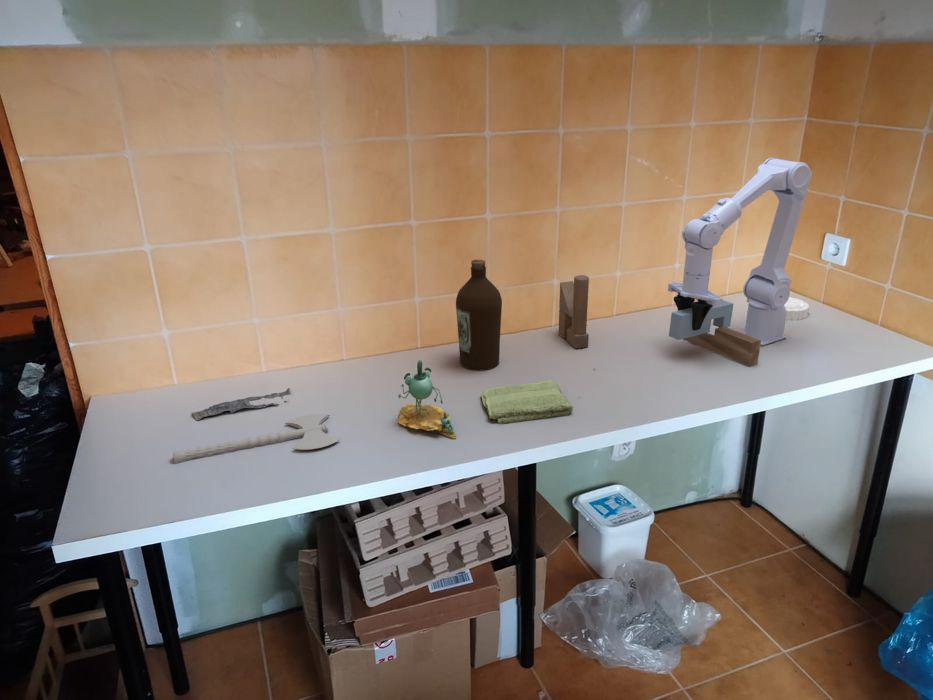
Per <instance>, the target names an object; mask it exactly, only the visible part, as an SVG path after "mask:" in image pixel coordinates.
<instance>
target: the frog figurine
mask: <svg viewBox="0 0 933 700" xmlns="http://www.w3.org/2000/svg"><path fill="white" fill-rule="evenodd" d="M416 364H417V366H416V367H417V371H416V372H417V373H416V374H414V375H413V377H412V378H411V373H410V372H407V373H406V374H405V375H404V377H403V380H404V383H405V384H404V383H402V384H401V388H402V393H403V395H405V394H406V396H402V395H401V393H399V394H398V396H397V397H398V399H401V398H402V399H405V400H406V399H407V398H408V396H409V394H410V396H412V397H413V398H414V399H415V404H413V403H411V404H410V403H409V404H406V405H403V406H402V407H401V409H399V410H398V412H399V413H398V416H399V417H398V418H397V419H398V423H399V425H402V426H403V427H408V428H410V429H412V430H424V431H427V432H428V431H431V432H434V431H438V434H439V435H444V436H445V437H447V438H451V439H456V438H457V434H456V433H455V429H454V427H453V425H452V423H451V421H452V419H451V418H450V416H449V414H448V413H447V411H444V410H443V409H442V408H441V407H439V406H435V405H433V404H429V405H428V404H427V405H426V404H422V401H423V400H426V399H427V398H429V397H430V396H431V395H432V393H433V390H434V392H435V393H436V396H435V398H433V401H434V402H435V403H437V398H438V396H439V397H440V403H441V404H443V403H444V402H443V399H442V395H441V391H440V389H438V388H436V387H435V386H434V385H433V382H432V380H431V375H430V373H431V372H432V369H431V368H429V367H425V368H424V371H423V360H422V359H419V360H417V363H416ZM428 371H429V372H428ZM405 385H406V386H408V390H407V391H405V390H404V386H405ZM443 426H444V427H445V428H443Z"/></svg>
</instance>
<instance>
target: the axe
mask: <svg viewBox="0 0 933 700" xmlns="http://www.w3.org/2000/svg"><path fill="white" fill-rule="evenodd" d="M330 416H331V414H327V413H313V414H305V415H302V416H297V417H295V418H292V419H290V420H289V421H286V422H285V423H284V424H285V425H288V426H291V427H294V428H296V429H293V430H287V431H278V432H277V433H271V432H270V433H268V434H267V435H258V436H256V437H254V436H252V437H248V438H245V439H241V440H235V441H228V442H225V443H218V444H214V445H207V446H204V447H197V448H194V449H193V448H192V449H186V450H183V449H177V450H173V451H172V457H173V461H174V464H178V463H182V462H185V461H191V460H193V459H201V458H204V457H212V456H214V455H221V454H225V453H232V452H235V451H238V450H244V449H254V448H256V447H264V446H267V445H268V444H269V445H273V444H276V443H283V442H286V441H289V440H290V441H291V440H296V439H301V438H302V439H301V440H300V441H299V442H298V443H297V444H296V445H294V446H293V447H292V449H293V450H301V451H305V450H307V451H309V450H316V449H321V448H325V447H328V446H330V445H333V444H335V443H337V442H338V441H340V440H341V438H339V437H336V436H333V435H330V434H328V433H329V427H328V424H326V423H323V422H324V421H325V420H327V418H329V417H330Z"/></svg>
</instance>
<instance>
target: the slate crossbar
mask: <svg viewBox="0 0 933 700" xmlns="http://www.w3.org/2000/svg"><path fill="white" fill-rule="evenodd" d="M733 310H734V303H733V302H730V301H727V300H725V299H724V300H723V299H722V306H719V307H712V308H711V309H710V310H709V312H708V313H707V315H706V317H705V319H704V321H703V323H702V326H701V328H700V329H699V330H695V331H694V330H692V321H693V313H692V308H688V309H684V310H679V311H678V310H676V311H672V312H671V316H670V324H669V330H668V331H669V332H668V337H670V338H672V339H675V340H677V341H681V340H683V339H685V338H689V337H693V336H696V335H700V334H704V333H710V331H711V326H712V325H713V326H714V327H716V328H719V327H722V326H724V327H727V328H730V327H731V324H732V323H731V322H732V316H733ZM712 320H713V321H712Z"/></svg>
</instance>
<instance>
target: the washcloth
mask: <svg viewBox="0 0 933 700" xmlns="http://www.w3.org/2000/svg"><path fill="white" fill-rule="evenodd" d="M480 396H481V400H482V405H483V406H484V407H485V409H486V412H487V414H488V417H489V419H490V420H491V419H492V420H497V424H498V425H501V424H503V425H504V424H509V423H510V424H511V423H517V422H518V423H519V422H524V421H532V420H541V419H546V418H547V419H548V418H552V417H553V418H554V417H555V418H556V417H560V416H568V415H569V414H571V413H572V412H573V410H574V407H573V404H571V402H570V401H569V400H568V399H567V397H566V396H565V395H563V394H562V390H561V386H560V385H559V384H558V383H557V382H556V381H554V380H552V379H551V380H544V381H540V382H536V383H533V382H532V383H531V382H530V383H529V382H527V383H524V384H523V383H522V384H518V385H512V386H511V385H510V386H499V387H498V386H497V387H491V388H488V389H486V390H483V391H482V392H481V393H480Z"/></svg>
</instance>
